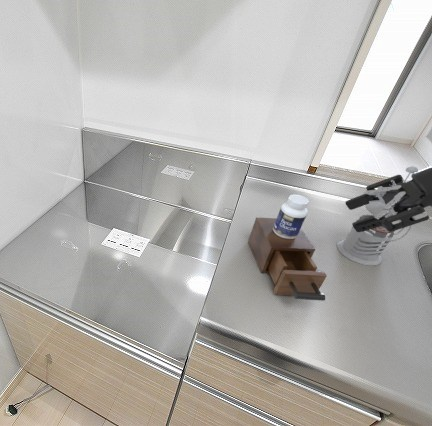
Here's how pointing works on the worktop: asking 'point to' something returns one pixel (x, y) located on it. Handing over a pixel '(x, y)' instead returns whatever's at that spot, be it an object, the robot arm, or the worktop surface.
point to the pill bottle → (291, 217)
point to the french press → (369, 237)
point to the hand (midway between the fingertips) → (350, 216)
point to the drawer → (296, 275)
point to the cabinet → (274, 242)
